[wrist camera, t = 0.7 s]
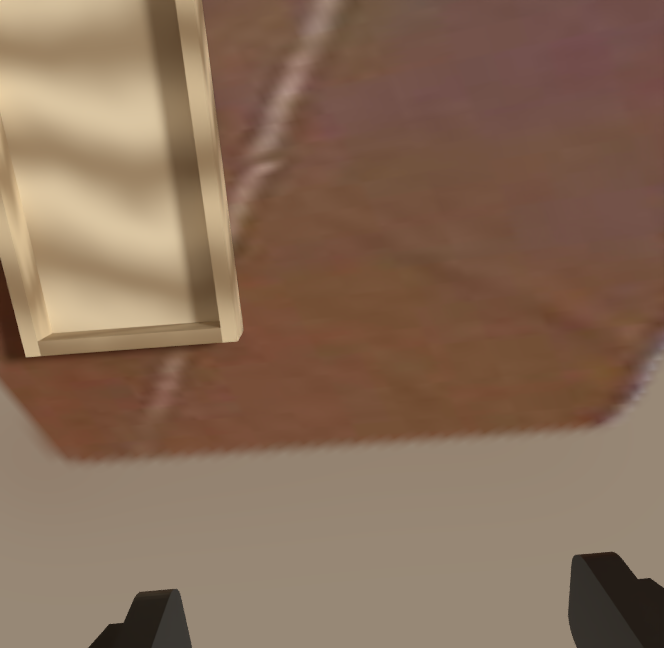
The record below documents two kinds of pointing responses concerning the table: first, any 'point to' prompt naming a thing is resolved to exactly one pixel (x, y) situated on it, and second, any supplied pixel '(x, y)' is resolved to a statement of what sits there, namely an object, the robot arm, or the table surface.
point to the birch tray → (112, 178)
